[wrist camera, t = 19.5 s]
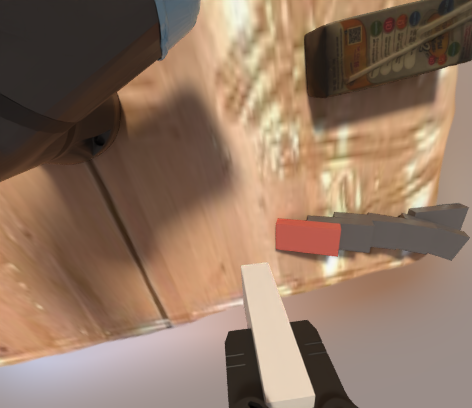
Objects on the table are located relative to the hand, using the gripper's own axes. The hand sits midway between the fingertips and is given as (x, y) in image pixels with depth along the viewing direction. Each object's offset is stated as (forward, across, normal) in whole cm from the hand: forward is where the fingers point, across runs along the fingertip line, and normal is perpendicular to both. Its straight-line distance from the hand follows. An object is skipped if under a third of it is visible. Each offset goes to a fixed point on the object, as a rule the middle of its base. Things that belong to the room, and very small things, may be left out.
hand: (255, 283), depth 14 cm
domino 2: (+26, +18, -13) cm, 34 cm away
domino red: (+26, +8, -13) cm, 30 cm away
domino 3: (+25, +24, -14) cm, 37 cm away
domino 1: (+25, +13, -13) cm, 31 cm away
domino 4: (+26, +32, -14) cm, 44 cm away
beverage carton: (+27, +21, +14) cm, 37 cm away
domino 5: (+25, +30, -14) cm, 41 cm away
